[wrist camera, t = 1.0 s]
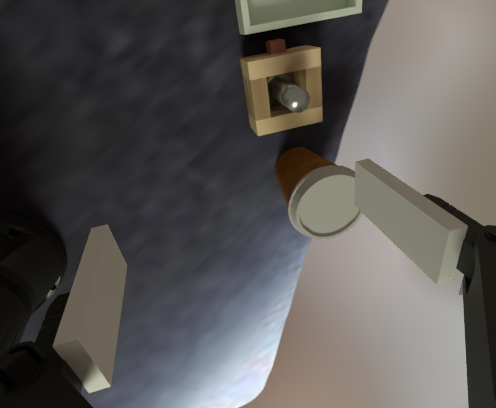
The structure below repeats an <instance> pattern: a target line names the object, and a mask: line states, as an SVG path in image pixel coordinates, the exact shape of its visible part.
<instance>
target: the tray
mask: <svg viewBox="0 0 496 408" xmlns="http://www.w3.org/2000/svg"><path fill="white" fill-rule="evenodd" d="M235 4H236V11H237V18H238V25H239V31H240V34H243V35H247V34H252V33H258V32H263V31H268V30H273V29H279V28H284V27H289V26H294V25H300V24H305V23H310V22H315V21H321V20H326V19H331V18H336V17H341V16H347V15H352V14H357V13H362V0H235Z"/></svg>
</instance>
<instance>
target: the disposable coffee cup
mask: <svg viewBox="0 0 496 408" xmlns="http://www.w3.org/2000/svg"><path fill="white" fill-rule="evenodd" d="M275 174H276V177H277V180H278V182H279V185H280V188H281V190H282V193H283V195H284V198H285V200H286V203H287V206H288V214H289V219H290V221H291V223H292V225H293V226H294V228H295V229H296V230H298V231H299V232H300V233H302V234H304V235H307V236H308V237H311V238H315V239H330V238H334V237H337V236H339V235H341V234H343V233H345V232H346V231H348V230H349V229H350V228H352V227H353V226H354V225H355V224H356V223H357V221H358V220H359V218H360V217H361V215H362V212H361V211H360V210H359V209H358V208H357V207H356V206H355V205H354V193H355V172H354V171H353V170H351V169H349V168H347V167H344V166H338V165H336V164H334V163H332V162H330V161H328V160H327V159H325V158H323V157H321V156H319V155H317V154H316V153H314V152H312V151H310V150H309V149H307V148H304V147H294V148H291V149H289V150H287V151H286V152H284V153H283V154H282V155H281V156H280V157H279V159H278V161H277V163H276V167H275Z"/></svg>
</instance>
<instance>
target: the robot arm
mask: <svg viewBox="0 0 496 408" xmlns="http://www.w3.org/2000/svg"><path fill="white" fill-rule="evenodd" d="M354 205H355V206H356V207H357V208H358V209H359V210H360V211H361V212H362V213H363V214H364V215H365V216H366V217H367V218H368V219H369V220H370V221H371V222H373V223H374V224H375V225H376V226H377V227H378V228H379V229H380V230H381V231H382V232H383V233H384V234H385V235H386V236H387V237H388V238H389V239H390V240H391V241H392V242H393V243H394V244H395V245H396V246H397V247H398V248H400V250H402V251H403V252H404V253H405V254H406V255H407V256H408V257H409V258H410V259H411V260H412V261H413V262H414V263H415V264H416V265H417V266H418V267H419V268H420V269H422V271H423V272H424V273H425V274H426V275H427V276H429V277H430V278H431V279H432V280H433V281H434V282H435V283H436V284H441V283H444V282H447V281H451V280H454V277H455V273H456V269H458V270H459V271H460V272H462V273H463V274H464V277H463V281H462V284H461V288H460V291H459V294H460V295H462V293H463V301H464V302H463V303H464V323H465V342H466V363H467V382H468V401H469V408H496V226H492V225H487V226H483V225H481V224H479V223H478V222H476V221H475V220H473V219H472V218H470V217H468V216H467V215H466V214H464V213H462V212H461V211H459V210H457V209H456V208H454V207H453V206H452V205H449V204H448V203H447V202H445V201H444V200H442V199H441V198H438V197H435V196H433V195H430V194H426V195H422V194H420V193H419V192H417V191H416V190H414V189H413V188H411V187H410V186H408V185H407V184H405V183H404V182H402V181H401V180H399V179H398V178H396V177H395V176H393V175H392V174H391V173H389V172H388V171H386V170H385V169H383V168H382V167H380V166H379V165H377V164H375V163H374V162H373V161H371V160H370V159H365V160H361V161H357V162H355V193H354ZM66 266H67V258H66V253H65V250H64V248H63V246H62V244H61V243H60V241H59V240H58V239H57V238H56V236H55V235H54V234H53V233H52V232H50V231H49V230H48V229H47V228H45V227H44V226H42V225H41V224H39V223H37V222H35V221H33V220H31V219H29V218H26V217H24V216H20V215H17V214H13V213H8V212H1V211H0V389H1V390H0V408H93V407H92V406H91V405H90V404H89V403H88V401H87V400H86V399H85V398H84V397H83V396H82V395H81V394H80V393H81V389H82V385H83V386H84V387H85V389H86V390H87V391H88V392H89V393H91V392H95V391H98V390H101V389H104V388H107V387H111V382H112V374H113V367H114V360H115V352H116V345H117V338H118V330H119V323H120V315H121V308H122V301H123V293H124V286H125V279H126V271H127V264H126V262H125V260H124V258H123V256H122V254H121V252H120V250H119V248H118V245H117V243H116V241H115V239H114V237H113V235H112V233H111V231H110V229H109V226H108V224H107V225H103V226H99V227H95V228H91V231H90V234H89V237H88V240H87V243H86V246H85V249H84V253H83V256H82V259H81V262H80V265H79V268H78V271H77V274H76V277H75V280H74V283H73V286H72V289H71V292H69V293H65V294H62V295H58V296H57V297H56V299H55V300H54V301H53V302H52V304H51V305H50V306H49V308H48V311H47V313H46V316H45V320H44V321H43V323H42V326H41V327H42V329H40V331H39V334H38V336H37V339H36V341H35V343H34V342H32V341H28V342H22V343H19V341H20V339H21V337H22V334H23V332H24V330H25V327H26V325H27V323H28V320H29V318H30V316H31V315H32V314H33V313H34V312H35V311H36V310H37V309H38V308H39V307H40V306H41V305H42V304H43V303H44V302H45V301H46V300H47V299H48V298H49V297H50V296H51V295H52V294H53V293H54V292H55V291H56V289H57V288H58V286H59V285H60V283H61V281H62V278H63V276H64V273H65V270H66Z"/></svg>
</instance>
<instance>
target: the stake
mask: <svg viewBox="0 0 496 408" xmlns="http://www.w3.org/2000/svg"><path fill="white" fill-rule="evenodd" d="M266 79H267V87H268V96H269V105H270V107H274V106H279V105H284V106H286V107H287V108H288V109H290V110H291V111H292V112H295V113H300V112H303V111H304V110H306V108H307V107H308V106H309V103H310V95H309V93H308V92H307V91H306V90H304V89H302V88H301V87H299V86H297V85H295V84H294V72H289V73H284V74H279V75H275V76H270V77H266Z"/></svg>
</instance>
